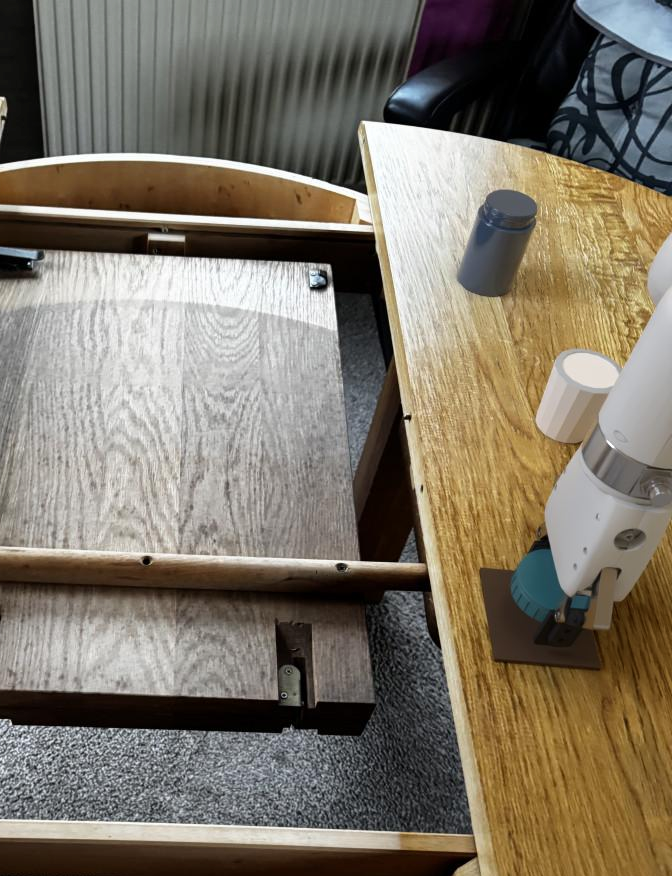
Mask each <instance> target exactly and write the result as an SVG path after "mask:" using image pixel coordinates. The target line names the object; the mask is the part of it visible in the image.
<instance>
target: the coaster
mask: <svg viewBox="0 0 672 876" xmlns="http://www.w3.org/2000/svg"><path fill="white" fill-rule="evenodd" d="M514 571H515V570H514V569H503V568H493V567H479V570H478V572H479V577H480V584H481V590H482V596H483V602H484V607H485V616H486V621H487V627H488V632H489V637H490V638H489V639H490V645H491V651H492V656H493V661H494V662H498V663H499V662H500V663H511V664H521V665H522V664H524V665H533V666H534V665H535V666H545V667H556V668H557V667H559V668H570V669H581V670H594V671H600V670H601V669H602V664H601V660H600V655H599V652H598V648H597V644H596V643H597V642H596V639H595V635H594V630H590V629H585V628H584V629H583V630H582V632H581V633H580V634H579V636H578V637H577V639H576V640H575V642H574V643H573V644H572V646H570V647H552V646H546V645H536V644H534V641H533V636H534V634H535V633H536V631H537V630H538V628H539V626H540V625H541V623H542V622H539V621H537V620H535V619H533V618H531V617H530V616H529V615H527V614H526V613H525V612H524V611H522V610H521V608H520V607H519V606H518V605H517V603H516V602H515V600H514V598H513V596H512V595H511V594H512V592H511V587H510V584H511V580H512V579H511V577H512V575H513V573H514Z"/></svg>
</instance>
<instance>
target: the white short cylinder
mask: <svg viewBox="0 0 672 876" xmlns="http://www.w3.org/2000/svg"><path fill="white" fill-rule="evenodd" d="M622 369H623V367H621V365H620V364H618V363H617V362H616V361H615V360H614V359H613V358H611V357H609V356H607V355H605V354H603V353H601V352H600V351H595V350H592V349H588V348H570V349H567V350H563V351H562V352H560V354H559V355H557V356H556V357H555V359H554V363H553V366H552V369H551V372H550V375H549V378H548V380H547V383H546V386H545V389H544V392H543V395H542V397H541V400H540V403H539V406H538V408H537V412H536V416H535V421H534V422H535V424H536V426H537V429H538V430H539V431H540V432H541V433H542V434H543V435H544V436H546V437H548V438H550V439H551V440H553V441H556V442H559V443H563V444H577V443H580V442H581V443H582V442H583V440H584V438H585V436H586V435H587V433H588V431H589V429H590V427H591V425H592V424H593V422H594V420H595V418H596V416H597V414H598V413H599V411H600V409H601V407H602V405H603V404H604V402H605V400H606V398H607V396H608V394H609V393H610V391H611V389H612V387H613V385H614V384H615V382H616V380H617V378H618V376H619V374H620V373H621V371H622Z"/></svg>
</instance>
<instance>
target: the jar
mask: <svg viewBox="0 0 672 876" xmlns="http://www.w3.org/2000/svg"><path fill="white" fill-rule="evenodd" d="M537 215H538V204H537V202H536V201H535V199H534V198H532V197H531V196H530V195H528V194H526V193H524V192H522V191H518V190H514V189H508V188H507V189H505V188H504V189H502V188H501V189H497V190H493V191H491V192H489V193H488V194H487V195H486V196H485V200H484V203H482V205H480V206H479V207H478V209H477V213H476V215H475V219H474V222H473V225H472V227H471V231H470V233H469V236H468V239H467V242H466V245H465V248H464V251H463V254H462V257H461V261H460V264H459V265H458V270H457V272H456V278H457V281H458V282H459V284H460V285H461V286H462V287H463V288H465V289H466V290H468V291H469V292H472V293H473V294H476V295H480V296H484V297H499V295H500V296H503V295H506V294H507V293H509V292H510V291H511V290H512V288H513V285H514V282H515V280H516V277H517V275H518V272H519V269H520V267H521V265H522V262H523V260H524V257H525V255H526V252H527V249H528V246H529V244H530V242H531V239H532V237H533V234H534V232H535V229H536V227H537V217H536V216H537ZM505 293H506V294H505Z"/></svg>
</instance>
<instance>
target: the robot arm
mask: <svg viewBox="0 0 672 876" xmlns="http://www.w3.org/2000/svg"><path fill="white" fill-rule="evenodd" d="M646 287H647V293H648V297H649V300H650V301H651V302H652V304H653V305H654V307H655V309H654V311H653V312H652V314H651V316H650V318H649V319H648V321H647V324H646V325H645V327H644V329H643V330H642V332H641V334H640V336H639V338H638V340H637V342H636V343H635V345H634V346H633V349H632V351H631V352H630V354H629V356H628V358H627V360H626V362H625V364H624V365H623V366H622V371H621V373H620V374H619V376H618V378H617V380H616V382H615V384H614V385H613V387H612V389H611V391H610V393H609V394H608V396H607V398H606V400H605V402H604V404H603V405H602V407H601V409H600V411H599V413H598V414H597V416H596V418H595V420H594V422H593V424H592V425H591V427H590V429H589V431H588V433H587V435H586V436H585V438H584V440H583V441H581V444H580V446H579V447H578V448H577V450H576V451H575V453H574V454H573V456H572V457H571V458H570V460H569V462H568V463H567V465H566V466H565V468H564V469H563V471H562V473H561V474H556V475H555V476H554V478H553V484H552V491H551V493H550V494H549V497H548V499H547V501H546V504H545V507H544V521H543V522H542V523H541V524H539V525H538V526H537V530H536V539H537V540H533V542H532V544H531V546H530V548H529V550H528V551H527V553H526V555H527V554H529V553H531V552H533V551H536V550H539V549H551V551H552V555H553V560H554V564H555V568H556V572H557V576H558V580H559V583H560V586H561V588H562V591H561V595H560V598H559V601H558V604H557V608H556V610H550V611H549V612H548V614H547V615H546V617H545V619H544V620H543V622H542V623H541V625H540V626H539V628H538V630H537V631H536V633H535V634H534V636H533V641H534V644H536V645H546V646H552V647H570V646H572V644H573V643H574V642H575V640H576V639H577V637H578V636H579V634H580V633H581V632H582V630H583V629H584V628H585V629H590V630H592V631H602V632H608V631H609V630H610V628H611V623H612V614H613V607H614V602H617V603H619V602H622V601H624V599H625V598H627V596H628V595H629V594H630V593H631V592H632V589H633V588H634V586H635V585H636V583H637V582H638V581H639V579H640V577H641V576H642V574H643V573H644V571H645V570H646V568H647V567H648V564H649V563H650V561H651V559H652V558H653V556H654V554H655V552H656V551H657V549H658V547H659V545H660V543H661V541H662V539H663V537H664V536H665V533H666V531H667V529H668V527H669V525H670V522H671V520H672V231H671V232H670V233H669V235H668V236H667V237H666V239H665V240H664V241H663V243H662V245H661V246H660V248H659V249H658V251H657V253H656V254H655V255H654V258H653V260H652V262H651V264H650V267H649V270H648V273H647V280H646ZM574 595H577V596H588V599H587V602H586V605H585V608H584V609H582V608H571V603H572V600H573V597H574Z"/></svg>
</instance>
